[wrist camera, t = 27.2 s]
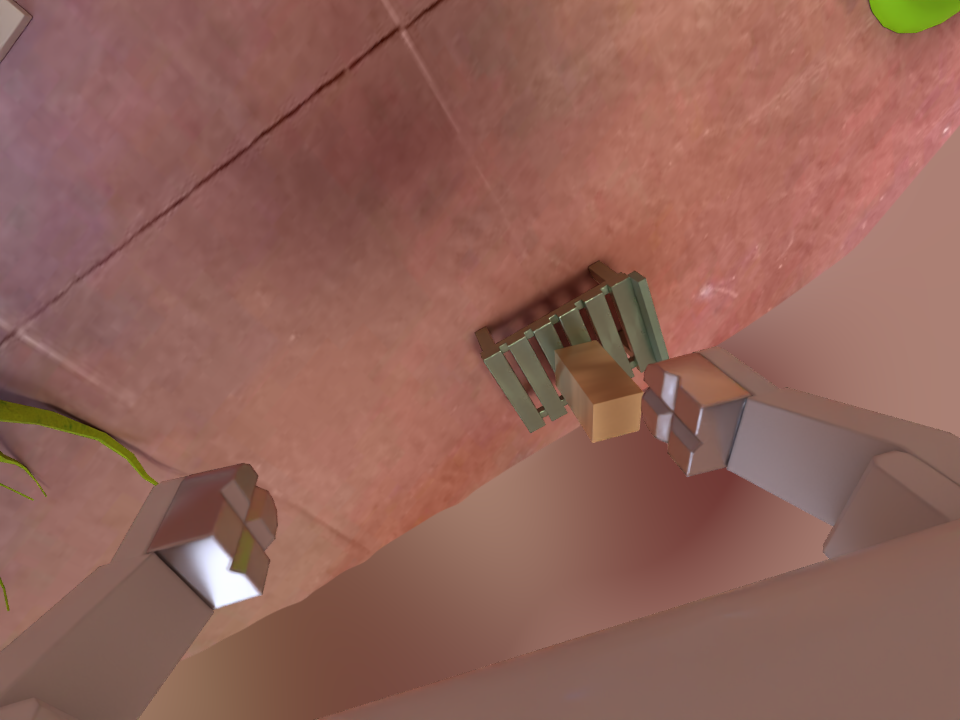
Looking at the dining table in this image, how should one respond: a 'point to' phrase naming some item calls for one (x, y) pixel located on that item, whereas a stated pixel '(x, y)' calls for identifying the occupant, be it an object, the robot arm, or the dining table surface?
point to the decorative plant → (59, 422)
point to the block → (598, 391)
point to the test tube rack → (11, 24)
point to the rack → (578, 341)
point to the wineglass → (913, 13)
